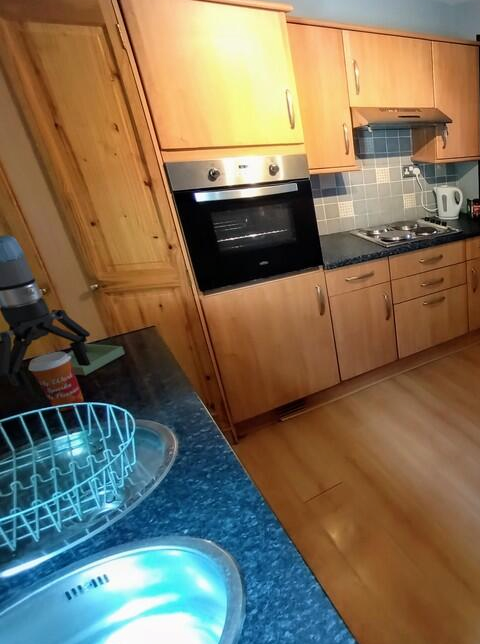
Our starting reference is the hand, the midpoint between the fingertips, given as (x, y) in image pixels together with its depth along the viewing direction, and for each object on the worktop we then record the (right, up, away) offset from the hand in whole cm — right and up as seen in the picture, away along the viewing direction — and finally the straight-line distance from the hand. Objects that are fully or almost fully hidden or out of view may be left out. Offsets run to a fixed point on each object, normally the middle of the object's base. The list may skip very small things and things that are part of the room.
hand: (58, 378), depth 114 cm
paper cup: (0, -7, +3) cm, 8 cm away
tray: (-14, +1, +22) cm, 26 cm away
